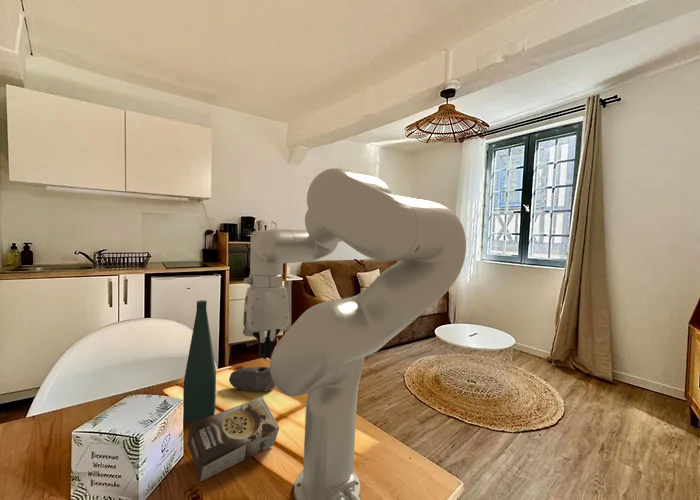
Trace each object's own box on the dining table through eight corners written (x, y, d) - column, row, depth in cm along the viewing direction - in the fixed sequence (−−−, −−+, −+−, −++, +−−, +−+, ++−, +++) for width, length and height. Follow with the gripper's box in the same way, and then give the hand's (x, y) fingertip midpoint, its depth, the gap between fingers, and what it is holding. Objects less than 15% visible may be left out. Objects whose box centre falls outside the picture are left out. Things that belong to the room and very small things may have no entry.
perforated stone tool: (225, 391, 94) (225, 369, 93) (233, 383, 99) (233, 361, 99) (274, 396, 93) (275, 373, 92) (279, 387, 98) (280, 365, 98)
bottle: (213, 403, 87) (215, 297, 85) (218, 418, 81) (221, 303, 79) (181, 411, 83) (182, 299, 81) (184, 427, 76) (185, 306, 75)
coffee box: (280, 426, 69) (203, 463, 58) (274, 445, 71) (199, 484, 60) (262, 394, 75) (188, 423, 64) (257, 413, 77) (185, 443, 66)
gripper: (239, 286, 68) (238, 368, 69) (301, 281, 77) (300, 355, 78) (230, 281, 75) (229, 357, 75) (288, 278, 83) (287, 346, 84)
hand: (265, 356), depth 77 cm, fingers closed
